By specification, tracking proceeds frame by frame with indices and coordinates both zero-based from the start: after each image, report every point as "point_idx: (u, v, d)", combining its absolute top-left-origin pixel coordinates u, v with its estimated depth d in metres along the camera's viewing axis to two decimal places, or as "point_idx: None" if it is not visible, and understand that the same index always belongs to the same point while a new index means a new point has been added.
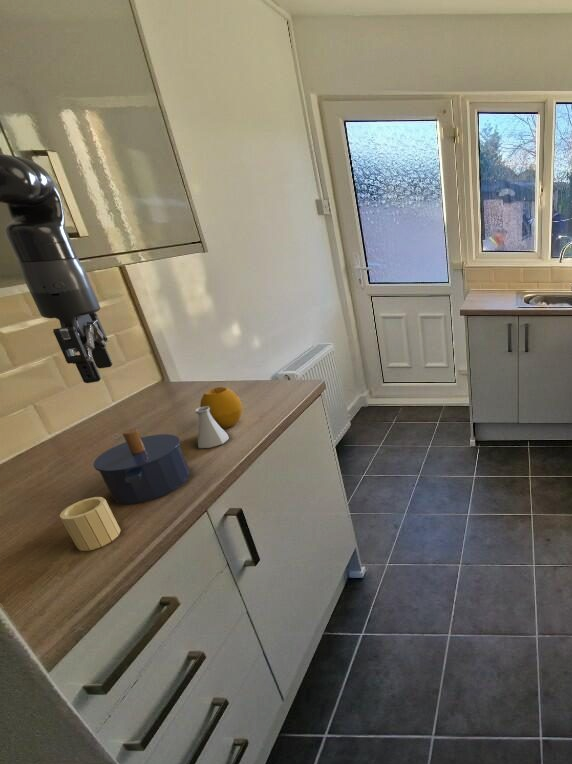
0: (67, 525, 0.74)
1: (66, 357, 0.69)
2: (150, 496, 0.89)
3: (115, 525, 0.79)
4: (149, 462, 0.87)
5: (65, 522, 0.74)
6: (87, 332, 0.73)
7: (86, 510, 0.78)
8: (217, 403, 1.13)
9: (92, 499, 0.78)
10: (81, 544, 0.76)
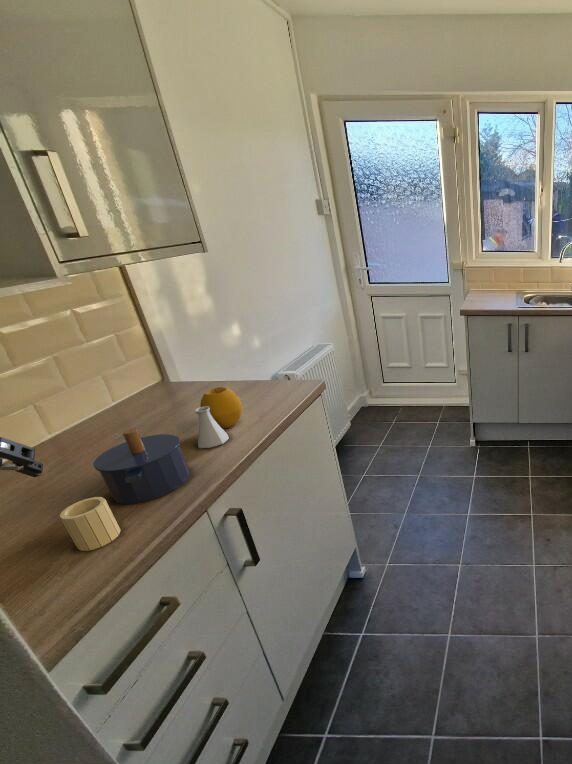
0: (67, 525, 0.74)
1: None
2: (150, 496, 0.89)
3: (115, 525, 0.79)
4: (149, 462, 0.87)
5: (65, 522, 0.74)
6: None
7: (86, 510, 0.78)
8: (217, 403, 1.13)
9: (92, 499, 0.78)
10: (81, 544, 0.76)
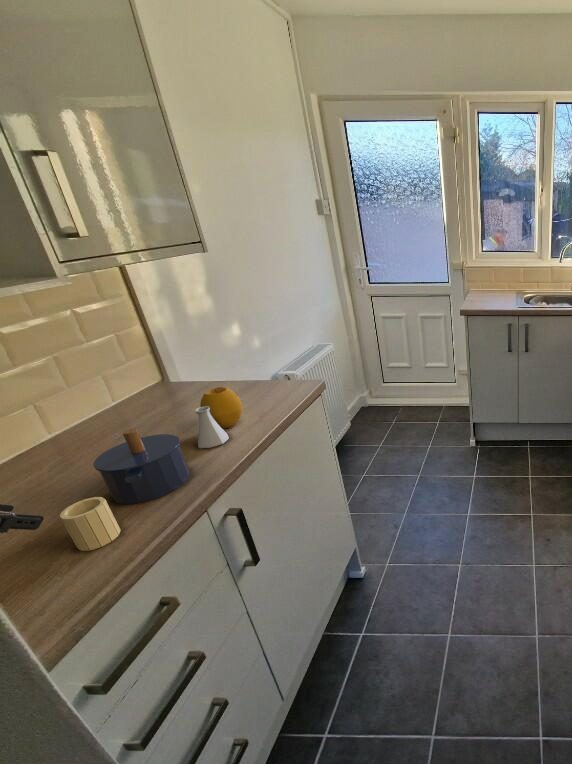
0: (67, 525, 0.74)
1: None
2: (150, 496, 0.89)
3: (115, 525, 0.79)
4: (149, 462, 0.87)
5: (65, 522, 0.74)
6: None
7: (86, 510, 0.78)
8: (217, 403, 1.13)
9: (92, 499, 0.78)
10: (81, 544, 0.76)
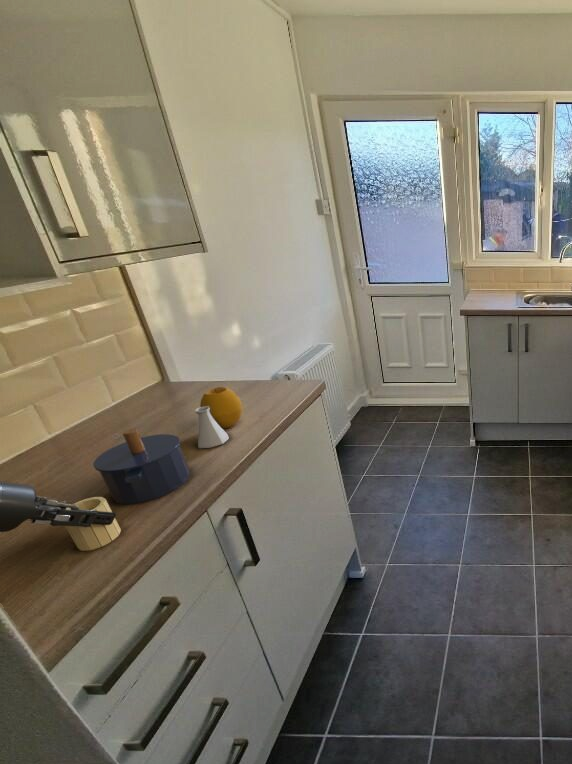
0: None
1: None
2: (150, 496, 0.89)
3: (115, 525, 0.79)
4: (149, 462, 0.87)
5: None
6: None
7: None
8: (217, 403, 1.13)
9: (92, 499, 0.78)
10: (81, 544, 0.76)
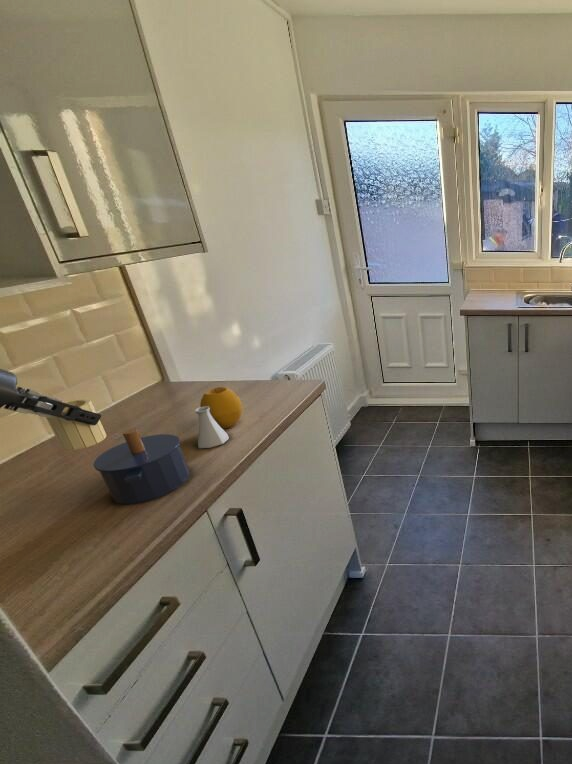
0: (51, 421, 0.72)
1: None
2: (150, 496, 0.89)
3: (101, 428, 0.78)
4: (149, 462, 0.87)
5: None
6: None
7: None
8: (217, 403, 1.13)
9: (77, 400, 0.77)
10: (65, 443, 0.74)
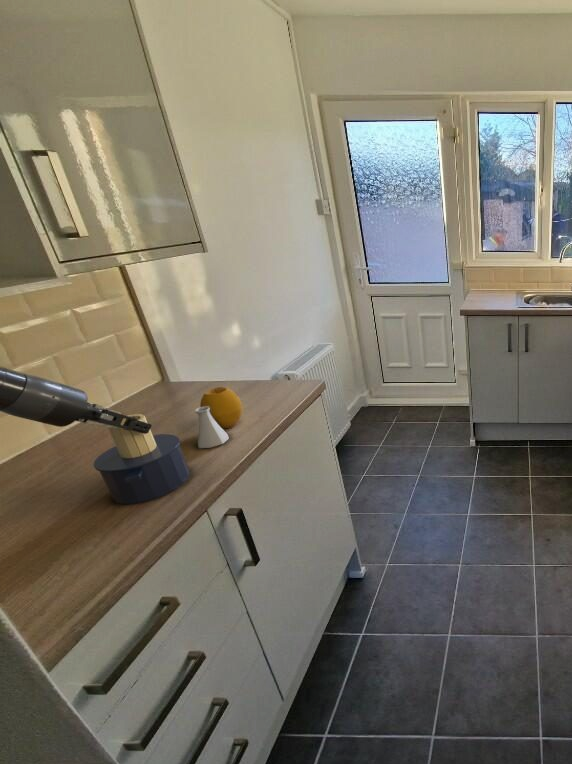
0: (113, 434, 0.86)
1: None
2: (150, 496, 0.89)
3: (152, 439, 0.91)
4: (149, 462, 0.87)
5: (112, 431, 0.85)
6: None
7: None
8: (217, 403, 1.13)
9: (133, 415, 0.90)
10: (125, 452, 0.87)
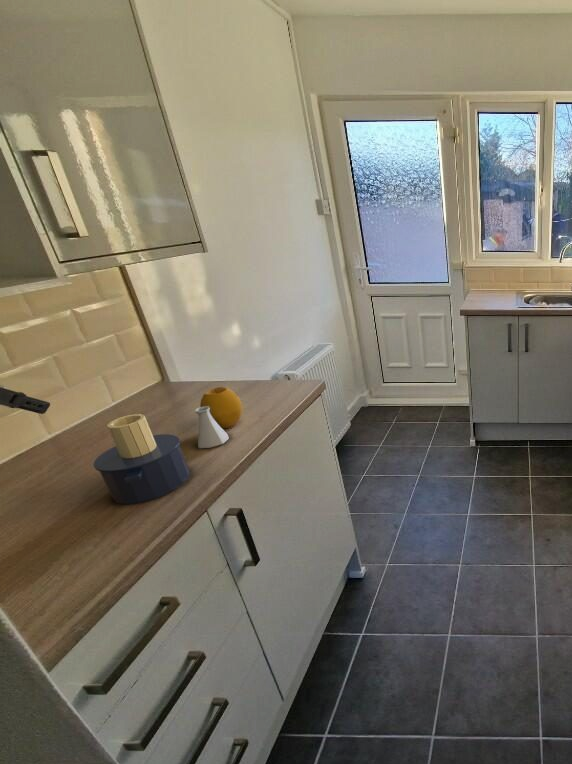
0: (113, 434, 0.86)
1: None
2: (150, 496, 0.89)
3: (152, 439, 0.91)
4: (149, 462, 0.87)
5: (112, 431, 0.85)
6: None
7: None
8: (217, 403, 1.13)
9: (133, 415, 0.90)
10: (125, 452, 0.87)
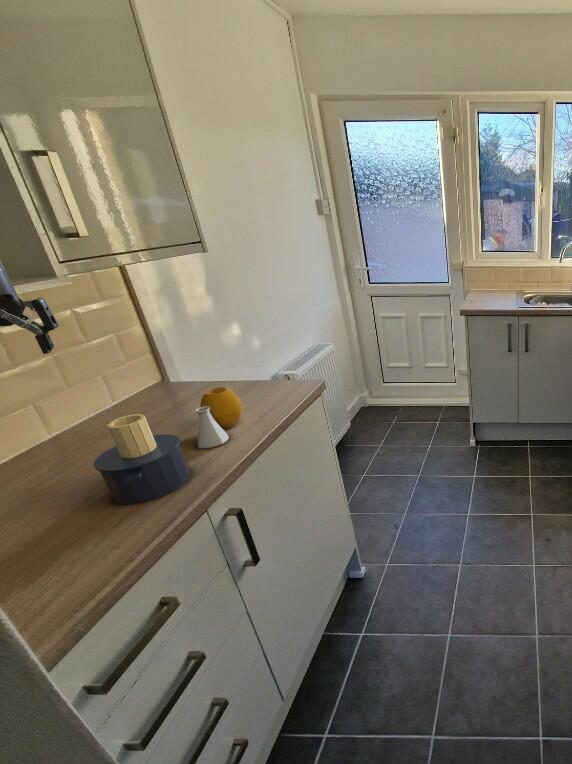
0: (113, 434, 0.86)
1: None
2: (150, 496, 0.89)
3: (152, 439, 0.91)
4: (149, 462, 0.87)
5: (112, 431, 0.85)
6: None
7: None
8: (217, 403, 1.13)
9: (133, 415, 0.90)
10: (125, 452, 0.87)
